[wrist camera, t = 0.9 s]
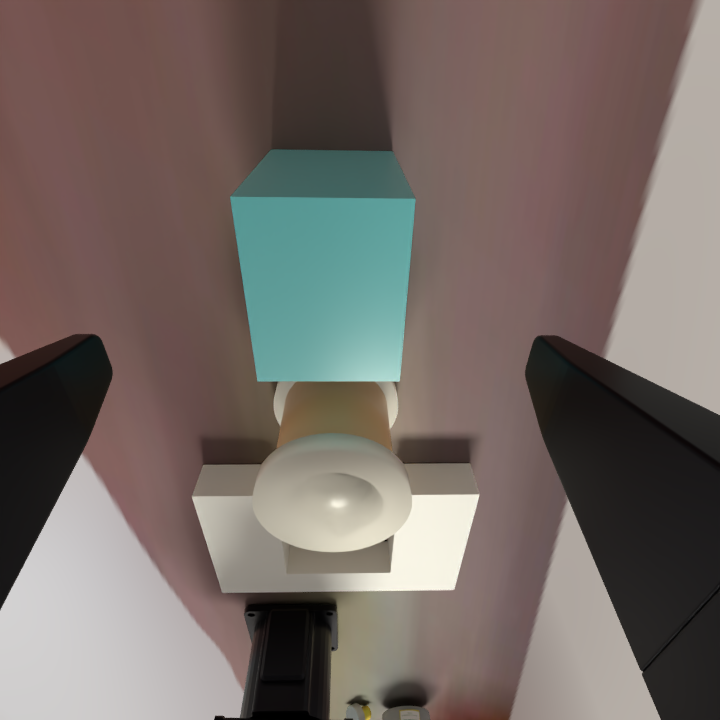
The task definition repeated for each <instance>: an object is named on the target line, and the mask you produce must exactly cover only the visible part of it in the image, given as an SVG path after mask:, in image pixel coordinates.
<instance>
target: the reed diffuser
mask: <svg viewBox="0 0 720 720" xmlns="http://www.w3.org/2000/svg"><path fill="white" fill-rule="evenodd" d="M346 717H347V718H353V720H369V719H370V718H371V711H370V708H369V707H368V706H363V707H361V706H360V705H359V704H358V703H354V704H352V705H350V706H348V708H347V711H346ZM382 720H430V715H429V712H428V711H427V710H426V709H425V708H422V707H418V706H400V707H395V708H391V709H389V710H387V711H385V712H384V713H383V715H382Z"/></svg>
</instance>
